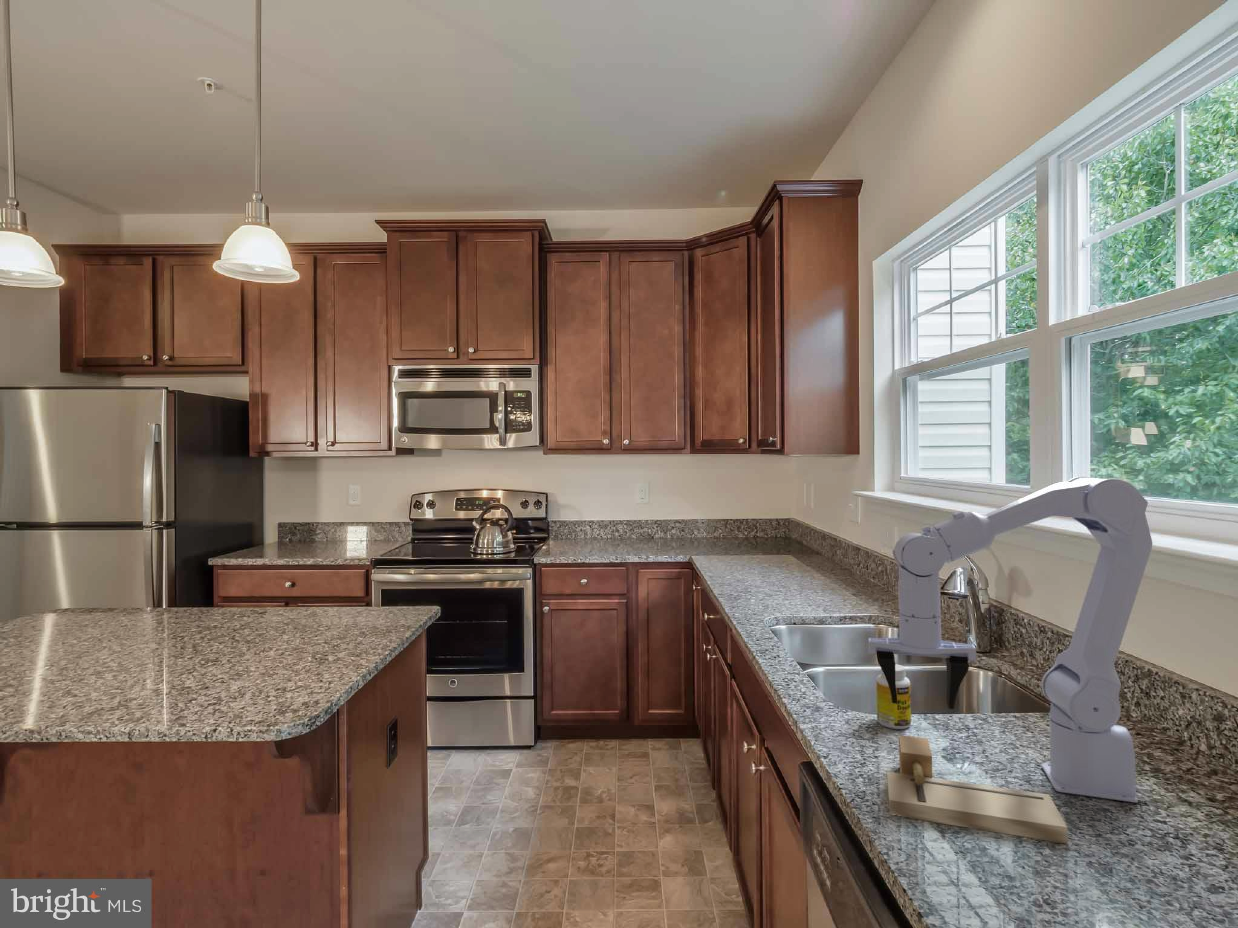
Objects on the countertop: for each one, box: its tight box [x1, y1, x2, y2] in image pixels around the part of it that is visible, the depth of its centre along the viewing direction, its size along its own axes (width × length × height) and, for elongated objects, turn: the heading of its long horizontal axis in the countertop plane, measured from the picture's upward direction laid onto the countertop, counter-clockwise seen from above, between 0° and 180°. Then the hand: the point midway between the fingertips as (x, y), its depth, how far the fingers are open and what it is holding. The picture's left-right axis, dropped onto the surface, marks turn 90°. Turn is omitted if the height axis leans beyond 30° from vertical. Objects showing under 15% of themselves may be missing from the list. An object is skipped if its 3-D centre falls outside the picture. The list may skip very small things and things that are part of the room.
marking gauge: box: [898, 734, 933, 786], centre depth 91 cm, size 4×11×5 cm, turn 159°
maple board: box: [886, 771, 1069, 845], centre depth 84 cm, size 20×8×2 cm, turn 69°
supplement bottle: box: [876, 663, 912, 730], centre depth 113 cm, size 6×6×10 cm
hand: (922, 703), depth 95 cm, fingers open, 7 cm apart
